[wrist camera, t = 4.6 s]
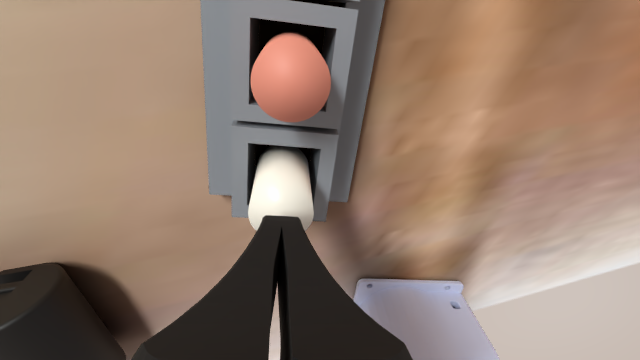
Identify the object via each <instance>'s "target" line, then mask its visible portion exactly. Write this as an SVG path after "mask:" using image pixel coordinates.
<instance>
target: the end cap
mask: <svg viewBox="0 0 640 360" xmlns="http://www.w3.org/2000/svg"><path fill="white" fill-rule="evenodd" d="M0 360H126V355H125V353H124V351H123V349H122V348H121V347H120V345H119V344H118V343H117V341H116V340H115V339H114V337H113V336H112V334H111V333H110V332H109V330H108V329H107V328H106V326H105V325H104V324H103V322H102V321H101V319H100V318H99V317H98V315H97V314H96V313H95V311H94V310H93V309H92V307H91V306H90V304H89V303H88V302H87V300H86V299H85V298H84V296H83V295H82V294H81V292H80V291H79V289H78V288H77V287H76V285H75V284H74V283H73V281H72V280H71V278H70V277H69V276H68V274H67V273H66V272H65V270H64V269H63V268H62V267H61V266H60V265H58V264H57V263H43V264H37V265H32V266H26V267H20V268H15V269H9V270H3V271H1V272H0Z"/></svg>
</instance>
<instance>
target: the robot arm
mask: <svg viewBox="0 0 640 360" xmlns="http://www.w3.org/2000/svg"><path fill="white" fill-rule="evenodd" d="M277 281H278V300H279V317H280V335H281V352H280V360H500V359H499V357H498V355H497V353H496V351H495V349H494V347H493V345H492V344H491V342H490V340H489V339H488V337H487V335H486V334H485V332H484V330H483V329H482V327H481V326H480V324H479V322H478V321H477V319H476V317H475V316H474V314H473V312H472V311H471V309H470V307H469V306H468V304H467V302H466V301H465V299H464V297H463V296H462V294H461V292H462V290H463V287H464V286H463V284H462V283H461V282H460V281H436V280H399V279H360V280H359V281H358V282H357V286H356V290H355V295H354V299H353V300H352V299H351V298H350V297H349V296H348V295H347V294H346V293H345V291H344V290H343V289H342V288H341V287H340V286H339V284H338V283H337V282H336V281H335V280H334V278H333V277H332V276H331V274H330V273H329V272H328V270H327V269H326V267H325V266H324V264H323V263H322V261H321V260H320V258H319V257H318V255H317V253H316V252H315V250H314V248H313V246H312V245H311V243H310V241H309V239H308V237H307V235H306V233H305V231H304V228H303V226H302V223H301V220H300V219H299V217H292V216H273V215H265V216H264V217H263V218H262V221H261V224H260V226H259V228H258V230H257V232H256V234H255V235H254V237H253V239H252V240H251V242H250V243H249V245H248V246H247V248H246V249H245V251H244V252H243V254H242V255H241V256H240V258H239V259H238V260H237V262H236V263H235V264H234V265H233V267H232V268H231V269H230V270H229V271H228V273H227V274H226V275H225V276H224V277H223V278H222V279H221V280H220V281H219V283H218V284H217V285H216V286H214V287H213V288H212V289H211V290H210V291H209V292H208V293H207V294H206V295H205V296H204V297H203V298H202V299H201V300H200V301H199V302H198V303H196V304H195V305H194V306H193V307H191V308H190V309H189V310H188V311H187V312H185V313H184V314H183V315H182V316H180V317H179V318H178V319H177V320H175V321H174V322H173V323H171V324H170V325H169V326H167V327H166V328H164V329H163V330H161V331H160V332H159V333H157V334H156V335H154V336H153V337H151V338H150V339H148V340H147V341H145V342H144V343H142V344H141V346H140V347H139V349H138V350H137V352H136V353H135V355H134V356H133V358H132V359H131V360H268V356H269V337H270V327H271V320H272V314H273V307H274V301H275V294H276V288H277ZM368 284H370V285H368Z"/></svg>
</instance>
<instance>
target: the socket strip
mask: <svg viewBox="0 0 640 360" xmlns="http://www.w3.org/2000/svg"><path fill="white" fill-rule="evenodd" d="M325 1H332V2H339V3H342V7H334V6H327V5H320V4H313V3H305V2H298V1H291V0H200V2H201V23H202V45H203V66H204V88H205V109H206V131H207V152H208V174H209V194H214V195H231V196H232V217H244V218H249V217H248V208H249V203H250V199H251V194H252V189H253V184H254V179H255V174H256V169H257V166H255V162H256V144H266V145H278V146H291V147H303V148H311V153H310V162H309V176H310V184H311V193H312V201H313V210H314V216H313V220H312V221H324V222H326V216H327V210H328V203H329V201H334V202H347V201H348V196H349V190H350V185H351V180H352V174H353V169H354V164H355V158H356V153H357V148H358V142H359V137H360V132H361V126H362V121H363V116H364V110H365V105H366V100H367V94H368V89H369V84H370V78H371V73H372V68H373V62H374V57H375V52H376V46H377V41H378V35H379V30H380V25H381V19H382V14H383V9H384V3H385V0H325ZM260 19H267V20H274V21H282V22H290V23H297V24H305V25H313V26H321V27H325V31H324V40H323V49H322V57H323V59H324V60H325V62H326V64H327V66H328V69H329V72H330V77H331V88H330V93H329V96H328V99H327V101H326V103H325V104H324V106H323V107H322V108H321V110H320V111H319V112H318V113H317V114H315V115H314V116H312V117H311V118H309V119H306V120H304V121H300V122H283V121H280V120H277V119H275V118H273V117H271V116H269V115H268V114H267V113H265V112H264V111H263V110H262V109H261V107H260V106H259V105H258V103H257V102H256V100H255V98H254V96H253V93H252V89H251V72H252V68H253V65H254V63H255V61H256V59H257V58H258V56H259V25H260Z"/></svg>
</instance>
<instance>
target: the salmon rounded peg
mask: <svg viewBox="0 0 640 360" xmlns="http://www.w3.org/2000/svg"><path fill="white" fill-rule="evenodd" d="M330 88H331V77H330V72H329V69H328V66H327V64H326V62H325V60H324V59H323V57H322V56H321V54H320V53H319V51H318V50H317V48H316V47H315V45H314V44H313V42H312V41H311V40H310V39H309V38H307V37H306V36H305V35H303V34H300V33H298V32H293V31H287V32H282V33H279V34H277V35H275V36H273V37H272V38H271V39H270V40H269V41H268V42H267V44H266V45H265V47H264V48H263V50H262V51H261V53H260V54H259V56H258V58H257V59H256V61H255V63H254V65H253V68H252V72H251V89H252V93H253V96H254V98H255V100H256V102H257V103H258V105H259V106H260V107H261V109H262V110H263V111H264V112H265V113H267V114H268V115H269V116H271V117H273V118H275V119H277V120H280V121H283V122H300V121H304V120H306V119H309V118H311V117H312V116H314V115H315V114H317V113H318V112H319V111H320V110H321V108H322V107H323V106H324V104H325V103H326V101H327V99H328V96H329V93H330Z"/></svg>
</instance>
